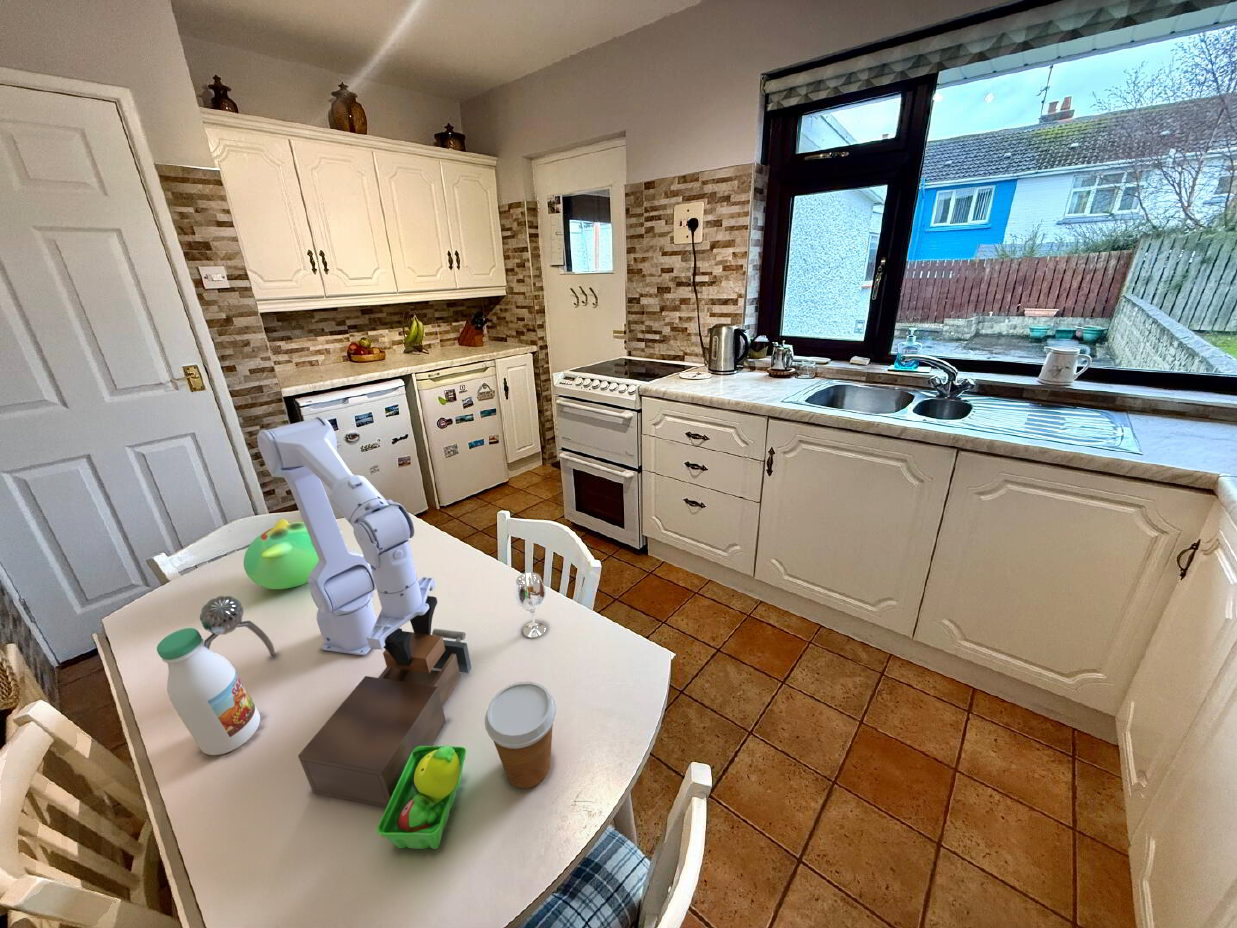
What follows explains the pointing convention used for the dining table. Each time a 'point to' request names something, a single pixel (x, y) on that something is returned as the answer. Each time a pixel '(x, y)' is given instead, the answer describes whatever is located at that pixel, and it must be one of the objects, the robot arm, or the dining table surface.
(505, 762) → the disposable coffee cup
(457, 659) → the drawer
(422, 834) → the fruit basket
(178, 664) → the milk bottle
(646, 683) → the dining table surface
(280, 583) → the toy bird
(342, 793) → the cabinet
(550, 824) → the dining table surface
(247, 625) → the juicer
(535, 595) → the wineglass
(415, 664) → the wooden block
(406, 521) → the robot arm
